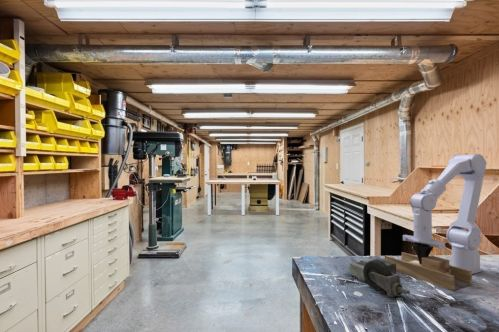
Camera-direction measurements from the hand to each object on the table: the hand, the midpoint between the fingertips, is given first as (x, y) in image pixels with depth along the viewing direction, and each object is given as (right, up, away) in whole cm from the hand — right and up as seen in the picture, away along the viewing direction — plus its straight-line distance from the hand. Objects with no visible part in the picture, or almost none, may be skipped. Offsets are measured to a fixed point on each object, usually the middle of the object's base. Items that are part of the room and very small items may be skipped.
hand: (422, 264), depth 107 cm
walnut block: (+2, -1, -4) cm, 5 cm away
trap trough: (0, -4, -1) cm, 4 cm away
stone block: (-19, -4, -1) cm, 20 cm away
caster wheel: (-20, -4, -15) cm, 26 cm away
